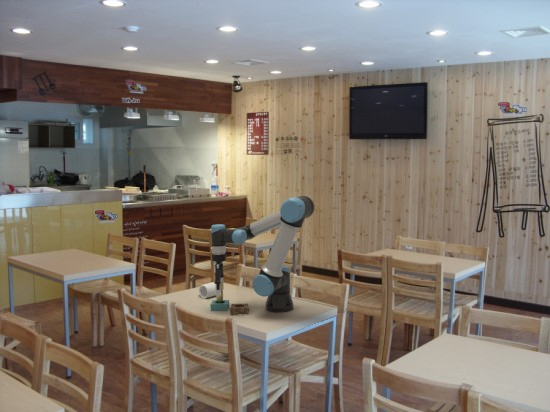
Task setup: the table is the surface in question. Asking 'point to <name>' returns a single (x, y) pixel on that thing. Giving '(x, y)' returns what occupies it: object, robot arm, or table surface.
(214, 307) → the socket block
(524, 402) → the table surface
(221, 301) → the pin
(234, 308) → the mount block
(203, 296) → the mug
